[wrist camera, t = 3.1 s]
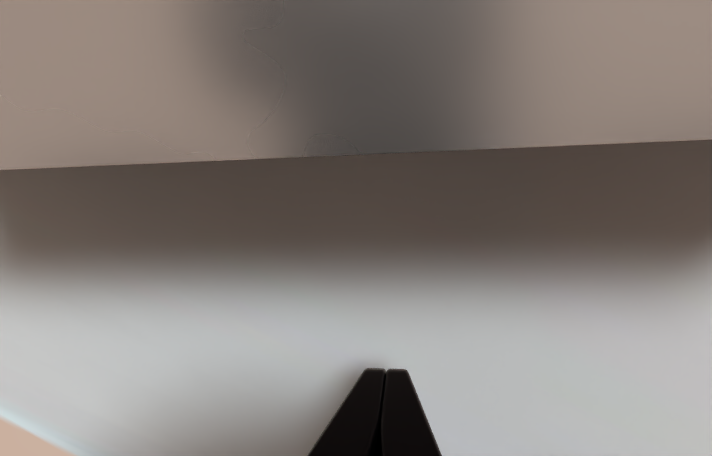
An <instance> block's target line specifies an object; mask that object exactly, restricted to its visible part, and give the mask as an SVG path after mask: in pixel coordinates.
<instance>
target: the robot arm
mask: <svg viewBox="0 0 712 456" xmlns="http://www.w3.org/2000/svg"><path fill="white" fill-rule="evenodd" d="M307 456H442V455H441V453H440V450H439V448H438V445H437V443H436V440H435V438H434V435H433V433H432V430H431V428H430V425H429V423H428V420H427V418H426V415H425V413H424V410H423V408H422V405H421V403H420V400H419V398H418V395H417V393H416V390H415V388H414V385H413V383H412V380H411V378H410V375H409V373H408V371H407V370H405V369H388V370H387V372H386V370H384V369H379V368H367V369H365V370H364V371H363V373H362V374H361V376H360V377H359V379H358V380H357V382H356V383H355V385H354V386H353V388H352V389H351V391H350V392H349V394H348V395H347V397H346V398H345V400H344V401H343V403H342V404H341V406H340V407H339V409H338V410H337V412H336V413H335V415H334V416H333V418H332V419H331V421H330V422H329V424H328V425H327V427H326V428H325V430H324V431H323V433H322V434H321V436H320V437H319V439H318V440H317V442H316V443H315V445H314V446H313V448H312V449H311V451H310V452H309V454H308V455H307Z"/></svg>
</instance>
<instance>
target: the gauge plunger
mask: <svg viewBox="0 0 712 456" xmlns="http://www.w3.org/2000/svg"><path fill="white" fill-rule="evenodd" d="M689 140H712V0H0V170H14V169H37V168H60V167H84V166H107V165H130V164H153V163H177V162H200V161H223V160H247V159H270V158H293V157H316V156H340V155H363V154H386V153H410V152H433V151H456V150H479V149H503V148H526V147H549V146H573V145H596V144H619V143H642V142H666V141H689Z"/></svg>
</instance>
